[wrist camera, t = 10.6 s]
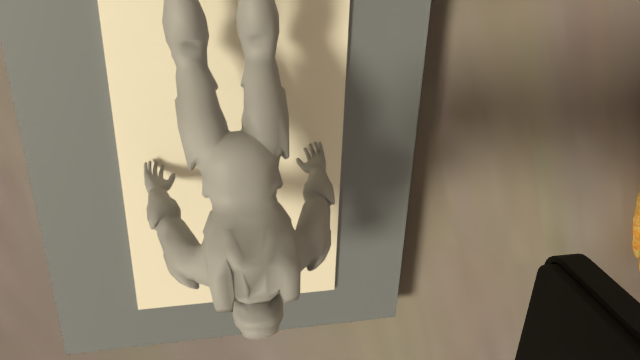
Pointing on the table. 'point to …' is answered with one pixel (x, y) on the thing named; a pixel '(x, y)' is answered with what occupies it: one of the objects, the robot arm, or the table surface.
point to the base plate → (166, 148)
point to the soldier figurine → (238, 177)
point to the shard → (637, 231)
